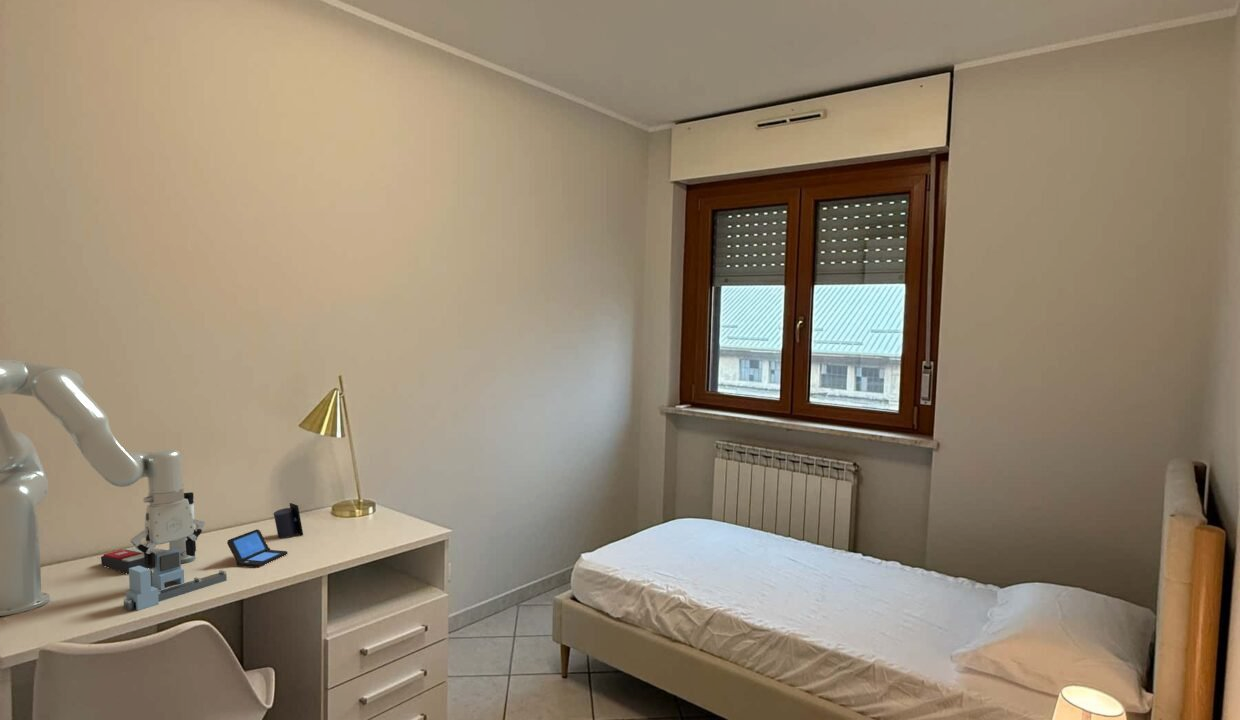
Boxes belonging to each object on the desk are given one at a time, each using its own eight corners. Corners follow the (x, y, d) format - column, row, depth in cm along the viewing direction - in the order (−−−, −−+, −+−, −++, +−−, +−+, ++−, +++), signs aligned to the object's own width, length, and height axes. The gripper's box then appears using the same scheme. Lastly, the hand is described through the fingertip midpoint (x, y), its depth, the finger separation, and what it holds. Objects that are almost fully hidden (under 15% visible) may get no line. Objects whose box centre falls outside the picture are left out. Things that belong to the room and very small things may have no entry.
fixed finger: (158, 604, 165) (157, 567, 164) (137, 610, 161) (136, 573, 160) (147, 599, 167) (146, 563, 167) (126, 605, 164) (125, 569, 163)
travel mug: (184, 565, 193) (181, 496, 192) (164, 563, 194) (162, 494, 193) (201, 557, 199) (199, 490, 198) (182, 556, 200) (180, 489, 199)
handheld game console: (258, 569, 190) (257, 543, 190) (226, 566, 192) (225, 540, 192) (289, 554, 202) (288, 530, 202) (258, 552, 205) (258, 528, 204)
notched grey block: (161, 590, 174) (160, 556, 173) (152, 587, 176) (151, 553, 176) (184, 583, 178) (183, 550, 178) (175, 580, 181) (174, 547, 180)
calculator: (142, 543, 202) (170, 548, 195) (143, 557, 202) (170, 563, 195) (100, 553, 192) (127, 559, 185) (101, 568, 192) (128, 575, 185)
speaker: (301, 530, 225) (297, 500, 224) (303, 535, 220) (299, 505, 219) (276, 536, 222) (272, 505, 220) (277, 541, 217) (273, 510, 215)
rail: (128, 611, 160) (128, 601, 160) (123, 609, 162) (123, 599, 162) (226, 581, 180) (226, 571, 180) (221, 579, 181) (221, 569, 181)
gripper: (136, 507, 167) (141, 574, 168) (208, 491, 182) (213, 553, 183) (122, 503, 171) (127, 569, 172) (194, 488, 186) (198, 549, 187)
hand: (171, 561), depth 177 cm, fingers open, 9 cm apart
